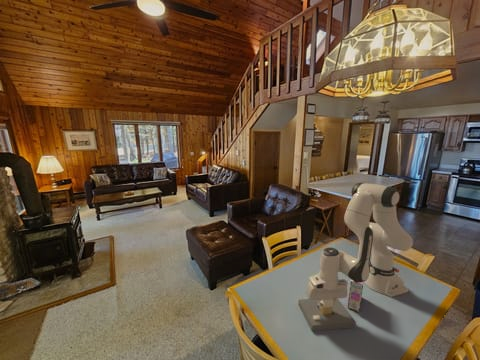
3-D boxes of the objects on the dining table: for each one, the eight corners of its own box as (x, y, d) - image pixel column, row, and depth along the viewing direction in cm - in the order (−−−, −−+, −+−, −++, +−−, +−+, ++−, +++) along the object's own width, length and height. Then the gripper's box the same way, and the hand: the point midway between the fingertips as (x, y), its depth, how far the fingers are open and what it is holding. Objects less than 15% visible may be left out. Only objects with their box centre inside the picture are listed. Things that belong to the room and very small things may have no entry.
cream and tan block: (327, 308, 106) (328, 293, 104) (331, 315, 101) (333, 299, 100) (318, 308, 105) (320, 293, 104) (323, 316, 101) (324, 300, 100)
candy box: (359, 312, 106) (363, 284, 103) (347, 308, 109) (350, 280, 106) (360, 296, 117) (363, 270, 114) (349, 292, 120) (352, 267, 117)
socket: (336, 301, 113) (336, 295, 112) (355, 327, 97) (356, 320, 97) (298, 304, 111) (298, 298, 110) (311, 330, 95) (312, 323, 94)
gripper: (343, 275, 105) (341, 298, 107) (306, 277, 103) (304, 301, 105) (351, 283, 99) (348, 308, 101) (311, 285, 96) (309, 311, 99)
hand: (325, 304), depth 103 cm, fingers closed on cream and tan block, 4 cm apart
